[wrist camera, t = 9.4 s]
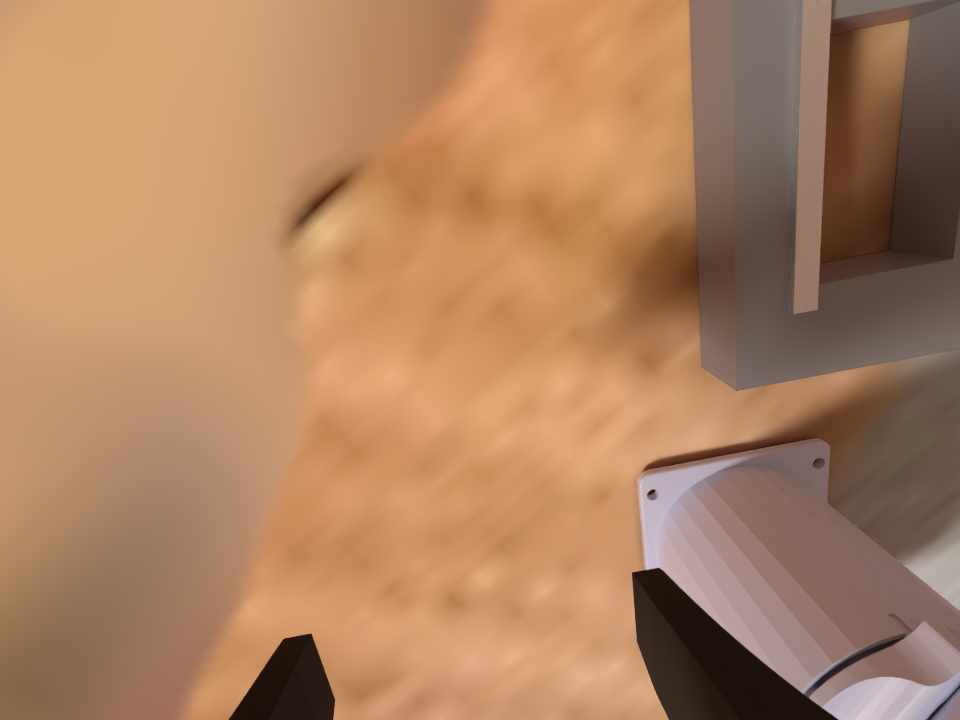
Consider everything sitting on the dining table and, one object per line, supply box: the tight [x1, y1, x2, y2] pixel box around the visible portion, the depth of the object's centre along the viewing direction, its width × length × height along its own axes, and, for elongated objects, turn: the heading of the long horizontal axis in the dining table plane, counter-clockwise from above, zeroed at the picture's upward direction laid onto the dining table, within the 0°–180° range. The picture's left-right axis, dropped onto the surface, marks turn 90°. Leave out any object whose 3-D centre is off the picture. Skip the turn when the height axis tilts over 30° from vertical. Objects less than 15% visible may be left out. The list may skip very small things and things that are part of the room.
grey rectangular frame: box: [690, 0, 960, 391], centre depth 16 cm, size 14×10×3 cm
